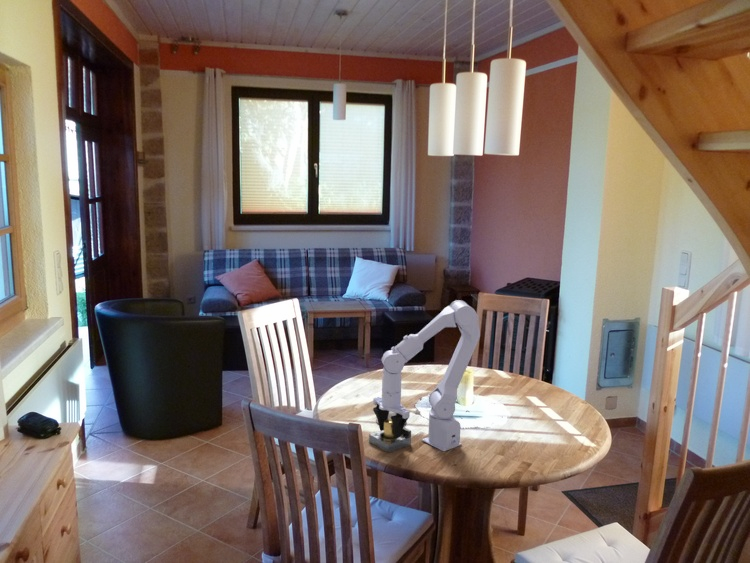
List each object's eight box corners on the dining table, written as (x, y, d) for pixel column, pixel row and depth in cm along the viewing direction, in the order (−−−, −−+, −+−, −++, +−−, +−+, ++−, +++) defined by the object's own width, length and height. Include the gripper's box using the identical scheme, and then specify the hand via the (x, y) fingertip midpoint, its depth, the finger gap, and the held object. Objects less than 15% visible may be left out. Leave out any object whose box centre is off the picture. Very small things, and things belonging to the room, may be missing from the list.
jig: (410, 444, 181) (411, 430, 180) (388, 452, 175) (388, 438, 175) (391, 434, 188) (391, 421, 187) (369, 441, 182) (369, 427, 182)
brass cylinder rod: (399, 443, 182) (399, 422, 180) (389, 447, 179) (390, 425, 178) (389, 439, 185) (390, 418, 183) (380, 443, 182) (381, 421, 181)
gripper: (366, 386, 182) (364, 428, 184) (397, 400, 171) (395, 445, 173) (383, 382, 186) (382, 423, 189) (415, 395, 175) (413, 439, 178)
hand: (390, 433), depth 181 cm, fingers open, 6 cm apart
